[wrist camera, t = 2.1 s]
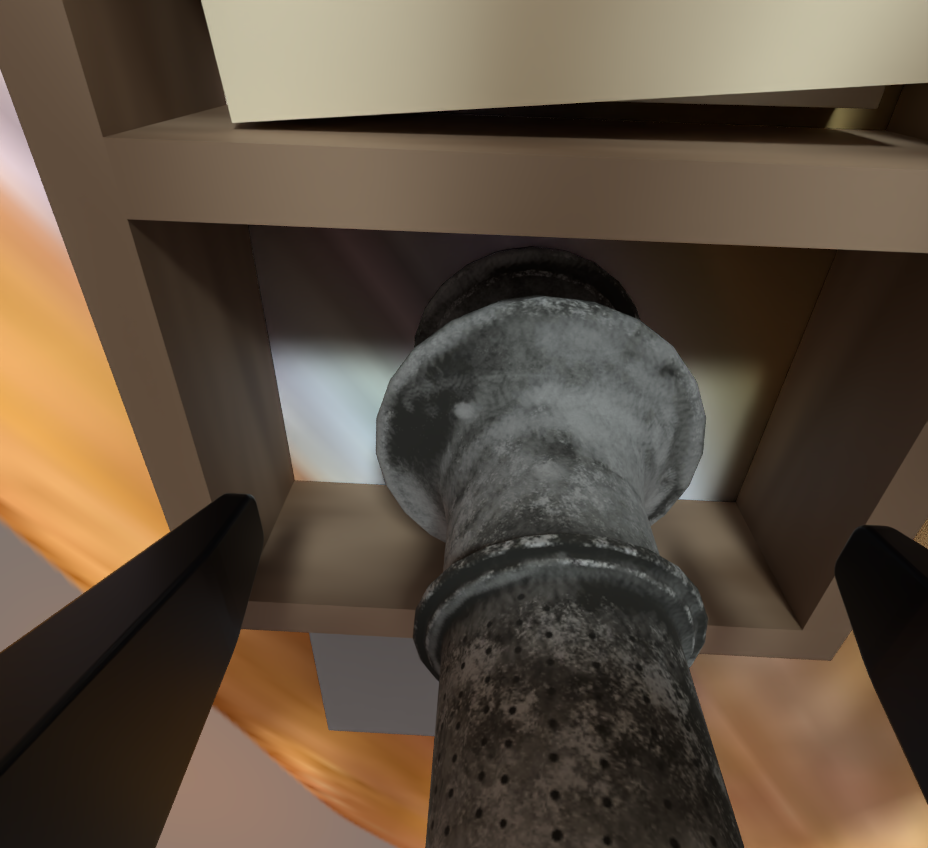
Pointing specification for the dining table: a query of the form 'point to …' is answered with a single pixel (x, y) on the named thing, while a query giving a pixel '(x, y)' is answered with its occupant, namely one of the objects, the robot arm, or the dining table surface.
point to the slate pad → (375, 684)
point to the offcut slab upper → (548, 51)
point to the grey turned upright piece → (554, 562)
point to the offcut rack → (471, 212)
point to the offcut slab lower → (790, 98)
